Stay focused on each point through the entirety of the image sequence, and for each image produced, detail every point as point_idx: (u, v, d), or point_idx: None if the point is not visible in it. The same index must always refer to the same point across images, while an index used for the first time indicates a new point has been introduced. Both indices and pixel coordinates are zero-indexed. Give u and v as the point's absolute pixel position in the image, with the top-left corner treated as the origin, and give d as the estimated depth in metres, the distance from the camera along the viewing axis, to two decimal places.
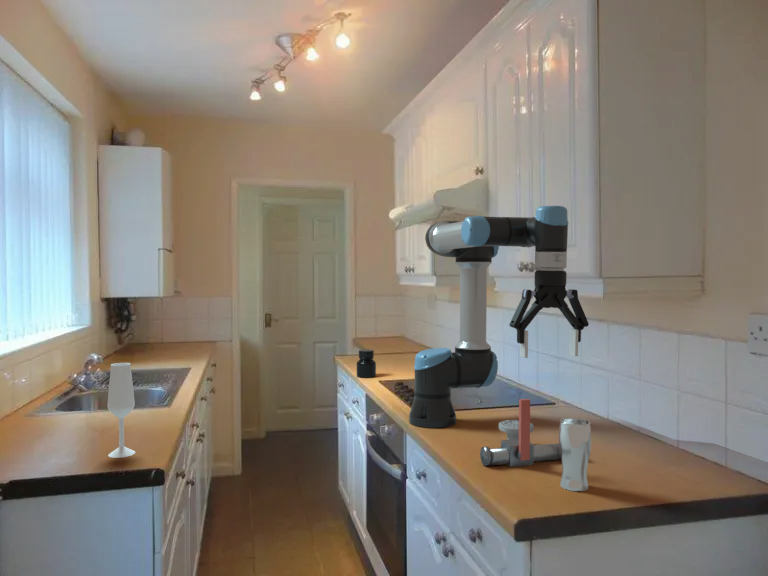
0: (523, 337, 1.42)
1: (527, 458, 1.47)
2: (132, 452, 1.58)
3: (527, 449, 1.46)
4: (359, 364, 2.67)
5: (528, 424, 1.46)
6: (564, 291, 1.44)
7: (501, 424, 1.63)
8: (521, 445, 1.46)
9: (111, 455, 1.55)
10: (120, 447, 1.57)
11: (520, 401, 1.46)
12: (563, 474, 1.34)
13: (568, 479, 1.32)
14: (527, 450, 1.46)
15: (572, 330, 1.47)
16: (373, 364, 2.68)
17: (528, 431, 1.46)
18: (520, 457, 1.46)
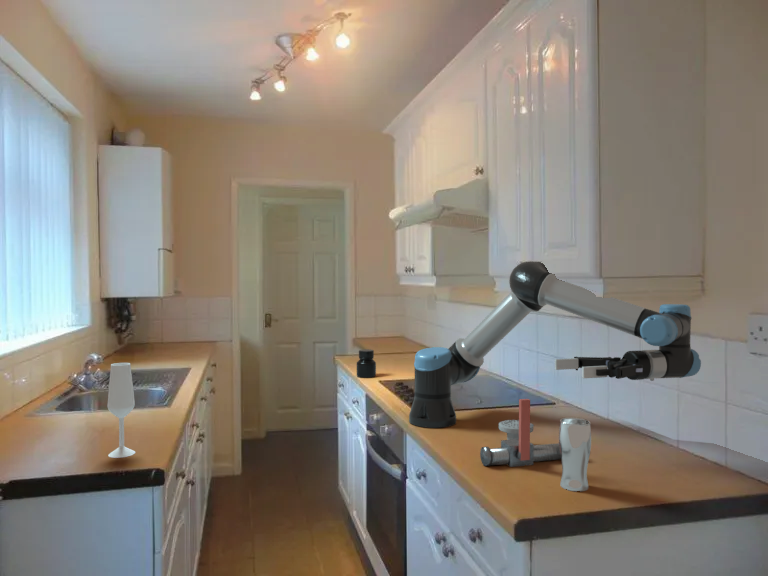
0: None
1: (527, 458, 1.47)
2: (132, 452, 1.58)
3: (527, 449, 1.46)
4: (359, 364, 2.67)
5: (528, 424, 1.46)
6: None
7: (501, 424, 1.63)
8: (521, 445, 1.46)
9: (111, 455, 1.55)
10: (120, 447, 1.57)
11: (520, 401, 1.46)
12: (563, 474, 1.34)
13: (568, 479, 1.32)
14: (527, 450, 1.46)
15: (577, 363, 1.56)
16: (373, 364, 2.68)
17: (528, 431, 1.46)
18: (520, 457, 1.46)
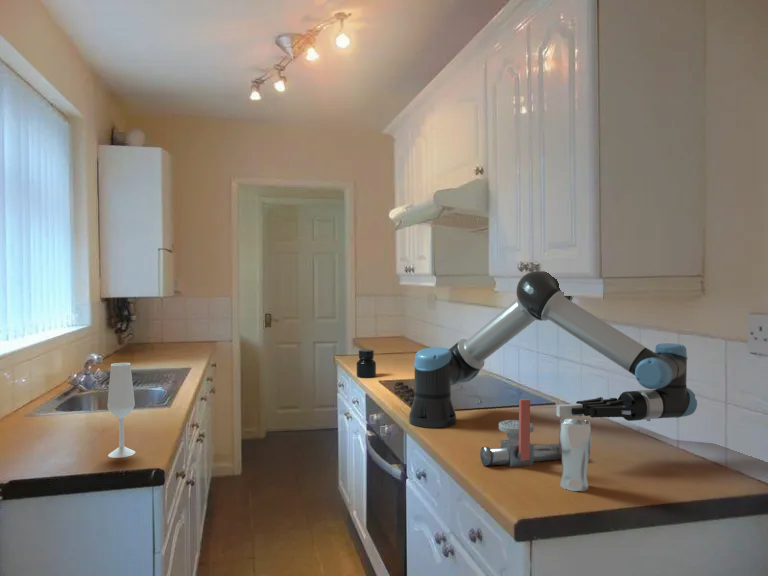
0: None
1: (527, 458, 1.47)
2: (132, 452, 1.58)
3: (527, 449, 1.46)
4: (359, 364, 2.67)
5: (528, 424, 1.46)
6: None
7: (501, 424, 1.63)
8: (521, 445, 1.46)
9: (111, 455, 1.55)
10: (120, 447, 1.57)
11: (520, 401, 1.46)
12: (563, 474, 1.34)
13: (568, 479, 1.32)
14: (527, 450, 1.46)
15: None
16: (373, 364, 2.68)
17: (528, 431, 1.46)
18: (520, 457, 1.46)
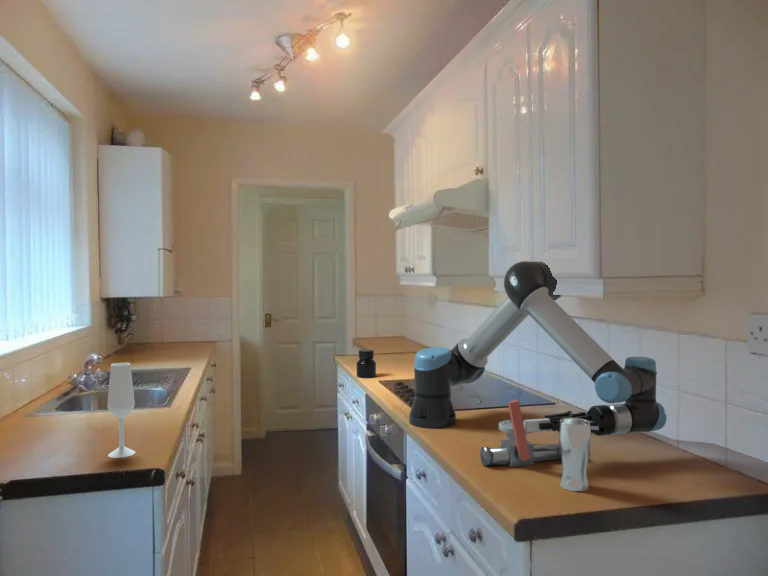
0: None
1: (527, 457, 1.47)
2: (132, 452, 1.58)
3: (526, 449, 1.46)
4: (359, 364, 2.67)
5: (522, 425, 1.46)
6: None
7: (501, 424, 1.63)
8: (519, 446, 1.46)
9: (111, 455, 1.55)
10: (120, 447, 1.57)
11: (509, 404, 1.45)
12: (563, 474, 1.34)
13: (568, 479, 1.32)
14: (526, 450, 1.46)
15: None
16: (373, 364, 2.68)
17: (523, 431, 1.46)
18: (520, 458, 1.46)
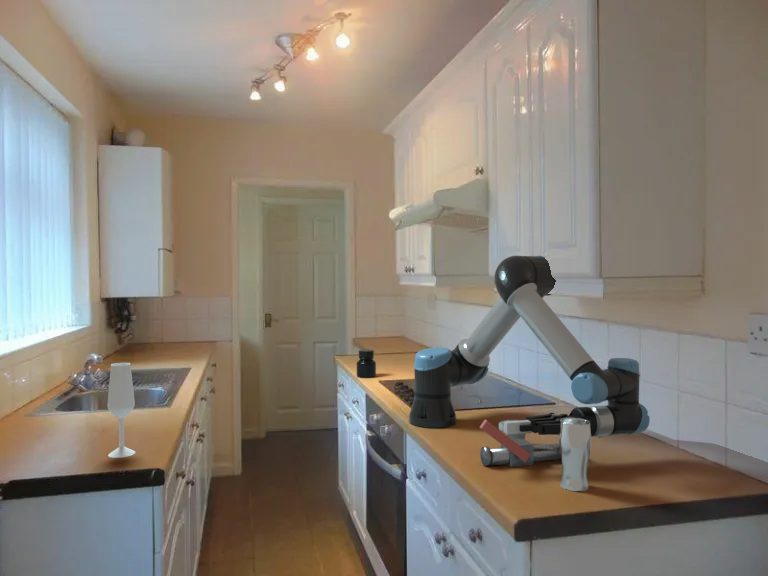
0: None
1: (528, 455, 1.47)
2: (132, 452, 1.58)
3: (521, 450, 1.46)
4: (359, 364, 2.67)
5: (504, 435, 1.45)
6: None
7: (501, 424, 1.63)
8: (514, 453, 1.46)
9: (111, 455, 1.55)
10: (120, 447, 1.57)
11: (481, 428, 1.44)
12: (563, 474, 1.34)
13: (568, 479, 1.32)
14: (522, 451, 1.46)
15: None
16: (373, 364, 2.68)
17: (509, 439, 1.45)
18: (522, 460, 1.46)
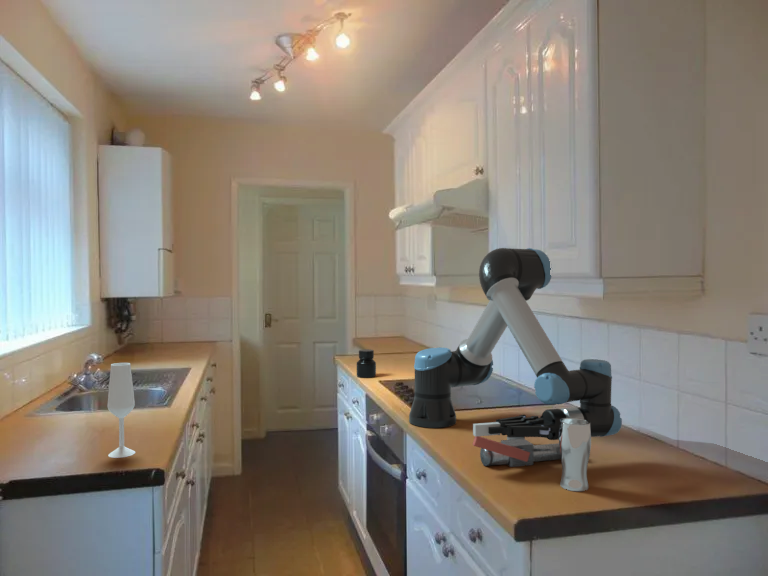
0: None
1: (528, 454, 1.47)
2: (132, 452, 1.58)
3: (520, 452, 1.46)
4: (359, 364, 2.67)
5: (498, 444, 1.44)
6: None
7: None
8: (514, 457, 1.46)
9: (111, 455, 1.55)
10: (120, 447, 1.57)
11: (474, 445, 1.43)
12: (563, 474, 1.34)
13: (568, 479, 1.32)
14: (521, 452, 1.46)
15: None
16: (373, 364, 2.68)
17: (504, 446, 1.45)
18: (524, 461, 1.46)
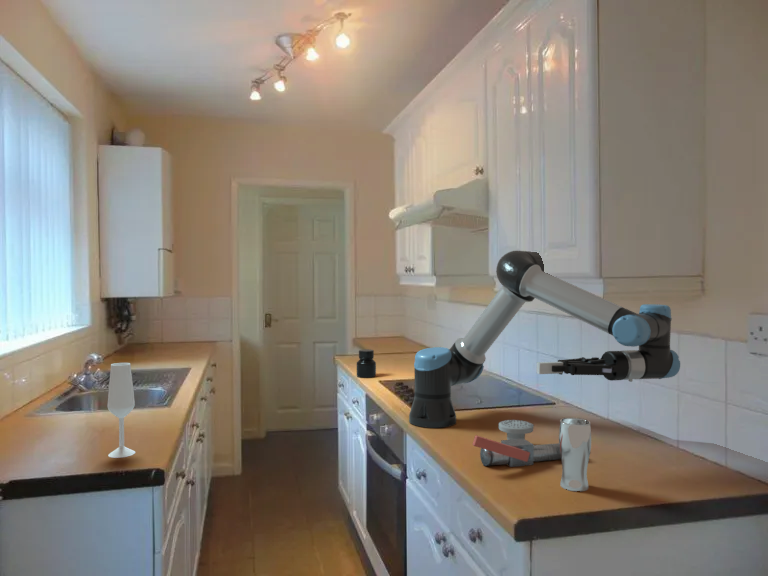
0: (557, 371, 1.47)
1: (528, 454, 1.47)
2: (132, 452, 1.58)
3: (520, 452, 1.46)
4: (359, 364, 2.67)
5: (498, 444, 1.44)
6: None
7: (501, 424, 1.63)
8: (514, 457, 1.46)
9: (111, 455, 1.55)
10: (120, 447, 1.57)
11: (474, 445, 1.43)
12: (563, 474, 1.34)
13: (568, 479, 1.32)
14: (521, 452, 1.46)
15: None
16: (373, 364, 2.68)
17: (504, 446, 1.45)
18: (524, 461, 1.46)
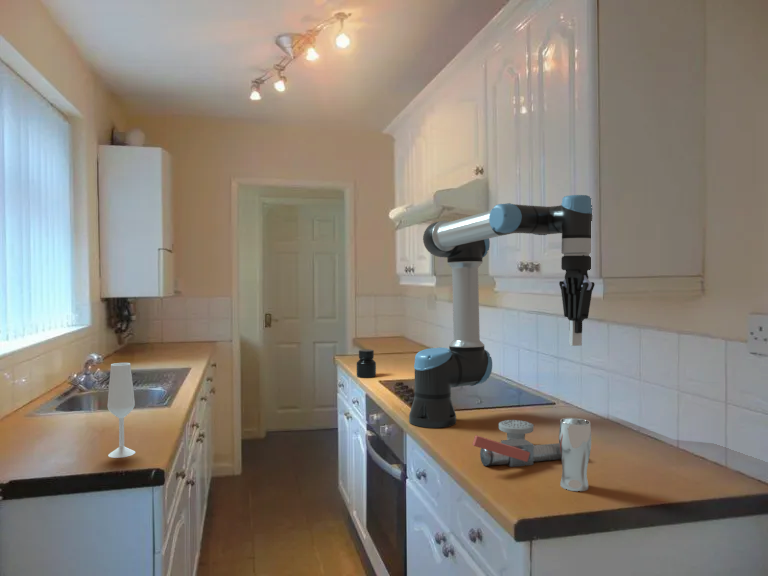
0: None
1: (528, 454, 1.47)
2: (132, 452, 1.58)
3: (520, 452, 1.46)
4: (359, 364, 2.67)
5: (498, 444, 1.44)
6: None
7: (501, 424, 1.63)
8: (514, 457, 1.46)
9: (111, 455, 1.55)
10: (120, 447, 1.57)
11: (474, 445, 1.43)
12: (563, 474, 1.34)
13: (568, 479, 1.32)
14: (521, 452, 1.46)
15: None
16: (373, 364, 2.68)
17: (504, 446, 1.45)
18: (524, 461, 1.46)
